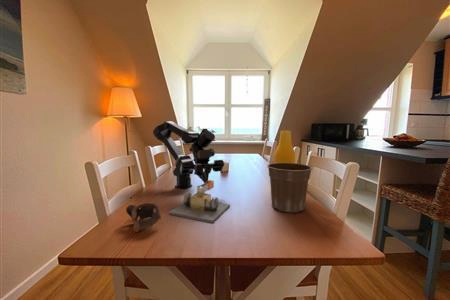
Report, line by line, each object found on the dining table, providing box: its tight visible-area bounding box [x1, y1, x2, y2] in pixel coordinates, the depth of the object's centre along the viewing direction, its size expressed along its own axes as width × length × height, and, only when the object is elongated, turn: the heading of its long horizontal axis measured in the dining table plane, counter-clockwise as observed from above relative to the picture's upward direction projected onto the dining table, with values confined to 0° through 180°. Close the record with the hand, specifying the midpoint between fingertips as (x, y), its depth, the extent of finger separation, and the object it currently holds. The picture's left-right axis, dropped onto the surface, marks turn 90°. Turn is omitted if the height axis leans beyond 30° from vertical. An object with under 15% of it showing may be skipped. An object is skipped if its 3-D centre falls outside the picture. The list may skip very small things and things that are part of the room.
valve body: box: [182, 192, 220, 212], centre depth 77 cm, size 12×5×6 cm, turn 68°
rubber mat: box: [168, 202, 231, 224], centre depth 77 cm, size 17×15×1 cm
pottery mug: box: [125, 201, 162, 233], centre depth 65 cm, size 12×10×8 cm
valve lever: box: [196, 179, 215, 194], centre depth 80 cm, size 10×3×3 cm, turn 158°
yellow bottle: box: [273, 130, 296, 163], centre depth 96 cm, size 9×9×29 cm
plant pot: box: [267, 162, 313, 214], centre depth 80 cm, size 16×16×16 cm
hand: (206, 183), depth 86 cm, fingers closed
